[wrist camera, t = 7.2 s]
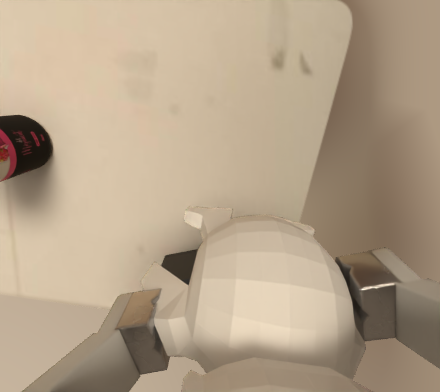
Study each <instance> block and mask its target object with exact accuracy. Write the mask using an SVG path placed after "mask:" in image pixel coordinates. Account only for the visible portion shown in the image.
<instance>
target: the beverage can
mask: <svg viewBox="0 0 440 392" xmlns="http://www.w3.org/2000/svg"><path fill="white" fill-rule="evenodd" d="M50 153H51V144H50V140H49V138H48V135H47V133H46V132H45V130H44V129H43V128H42V127H41V126H40V125H39V124H38V123H37V122H36V121H34V120H32V119H31V118H28V117H26V116H22V115H10V116H0V182H1V181H4V180H6V179H9V178H12V177H15V176H17V175H20V174H23V173H25V172H28V171H31V170H33V169H36V168H39V167H41V166H43V165H44V164H45V163H46V162H47V161H48V159H49V157H50Z"/></svg>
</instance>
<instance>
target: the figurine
mask: <svg viewBox="0 0 440 392" xmlns="http://www.w3.org/2000/svg"><path fill="white" fill-rule="evenodd" d="M232 211H233V209H226V208H219V207H217V208H203V207H191V206H189V207H188V208H187V209H186V210H185V217H184V221H185V222H187V223H188V224H189V225H190V226H193V227H196V228H198V229H201V230H200V231H201V236H202V239H203V242H202V244H201V246H200V247H199V249H198V251H197V255H196V259H195V263H194V267H193V271H192V275H191V278H190V282H189V286H188V285H187V284H185V283H184V282H183V281H181V280H180V279H178V278H177V277H176V276H174V275H173V274H171V273H170V272H169V271H167V270H166V269H164V268H163V267H162V266H160V265H159V264H157V263H156V262H155V261H154V263H153V264H152V266H151V267H150V269H149V270H148V272H147V273H146V274H145V276H144V277H143V279H142V280H141V284H142V287H143V291H145V290H151V289H158V288H162V290H161V294H160V298H159V300H158V301H157V302H156V303H155V305H154V307H155V309H156V313H155V317H154V324H155V327H156V329H157V332H158V334H159V337H160V339H161V341H162V344H163V346H164V349H165V351H166V353H167V356H174V357H187V358H189V359H192V360H195V361H197V362H198V363H199V364H200V365H201V367H202V368H203V369H204V370H205V372H206V373H207V374H205V375H201V374H198V373H196V372H194V371H192V370H190V372H189V373H188V374H187V375H186V376H185V377H184V378H183V385H182V390H181V392H373V391H371V390H369V389H367V388H365V387H364V386H362V385H360V384H358V383H356V382H355V381H353V377H354V375H355V373H356V371H357V368H358V366H359V363H360V361H361V359H362V357H363V354H364V352H365V350H366V346H365V341H364V340H363V338H362V337H361V335H360V333H359V331H358V330H357V328H356V326H355V322H354V314H353V305H352V299H351V296H350V293H349V290H348V287H347V283H346V281H345V279H344V276H343V274H342V272H341V270H340V268H339V266H338V265H337V263H336V262H335V261H334V259H333V258H332V257H331V256H330V255H329V254H328V252H327V251H326V250H325V249H324V248H323V247H322V246H321V245H320V244H319V243H318V241H316V239H315V238H314V237H313V235H314V232H315V230H314V229H313V228H312V227H311V226H310V225H305V224H302V223H298V222H293V221H289V220H287V219H285V218H282V217H276V216H272V215H250V216H243V217H236V218H232V219H231V216H232Z"/></svg>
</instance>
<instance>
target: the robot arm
mask: <svg viewBox="0 0 440 392" xmlns="http://www.w3.org/2000/svg"><path fill="white" fill-rule="evenodd" d="M335 262H336V263H337V265H338V266H339V268H340V270H341V272H342V274H343V276H344V279H345V281H346V283H347V287H348V290H349V293H350V296H351V299H352V305H353V314H354V322H355V326H356V328H357V330H358V331H359V333H360V335H361V337H362V338H363V340H364V341H371V340H379V339H388V338H396V339H397V340H398V341H400V342H401V343H403V344H404V345H406V346H407V347H409V348H410V349H411V350H413V351H415V352H416V353H417V354H419V355H420V356H422V357H423V358H425V359H426V360H428V361H429V362H430V363H432V364H434V365H435V366H436V367H438V368H440V283H439V282H437V281H433V280H431V279H421V278H420V277H419V276H418V275H417V274H416V273H415V272H414V271H412V270H411V269H410V268H409V267H408V266H407V265H406V264H405V263H404V262H403V261H402V260H400V259H399V258H398V257H397V256H396V255H395V254H394V253H393V252H392V251H390V250H389V249H388V248H385V247H384V248H379V249H375V250H370V251H367V252H362V253H357V254H351V255H346V256H340V257H336V260H335ZM161 290H162V288H158V289H151V290H145V291H138V292H132V293H127V294H121V295H120V296H118V297H117V299H116V301H115V302H114V304H113V306H112V308H111V310H110V312H109V313H108V315H107V317H106V319H105V320H104V322H103V324H102V326H101V328H100V329H99V331H98V333H93V334H92V335H91V336H89V337H88V338H87V339H86V340H84V341H83V342H82V343H81V344H79V345H78V346H77V347H76V348H75V349H73V350H72V351H71V352H70V353H68V354H67V355H66V356H65V357H64V358H62V359H61V360H60V361H59V362H57V363H56V364H55V365H54V366H53V367H51V368H50V369H49V370H48V371H46V372H45V373H44V374H43V375H41V376H40V377H39V378H38V379H37V380H35V381H34V382H33V383H32V384H30V385H29V386H28V387H27V388H25V389H24V390H23V391H22V392H129V391H130V389H131V388H132V387H133V385H134V384H135V383H136V381H137V380H138V379H139V377H140V375H141V374H147V373H152V372H158V371H163V370H167V367H168V362H169V358H170V356H167V353H166V351H165V349H164V346H163V344H162V341H161V339H160V337H159V334H158V332H157V329H156V327H155V324H154V317H155V313H156V309H155V307H154V305H155V303H156V302H157V301H158V300H159V298H160V294H161Z"/></svg>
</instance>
